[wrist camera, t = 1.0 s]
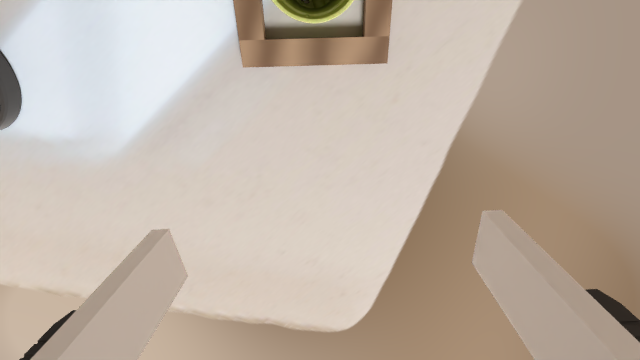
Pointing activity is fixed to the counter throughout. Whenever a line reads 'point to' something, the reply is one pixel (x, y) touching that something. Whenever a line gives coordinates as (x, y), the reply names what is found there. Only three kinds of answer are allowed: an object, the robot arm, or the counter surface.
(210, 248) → the counter surface
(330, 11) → the plant pot
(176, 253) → the robot arm
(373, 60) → the walnut frame
